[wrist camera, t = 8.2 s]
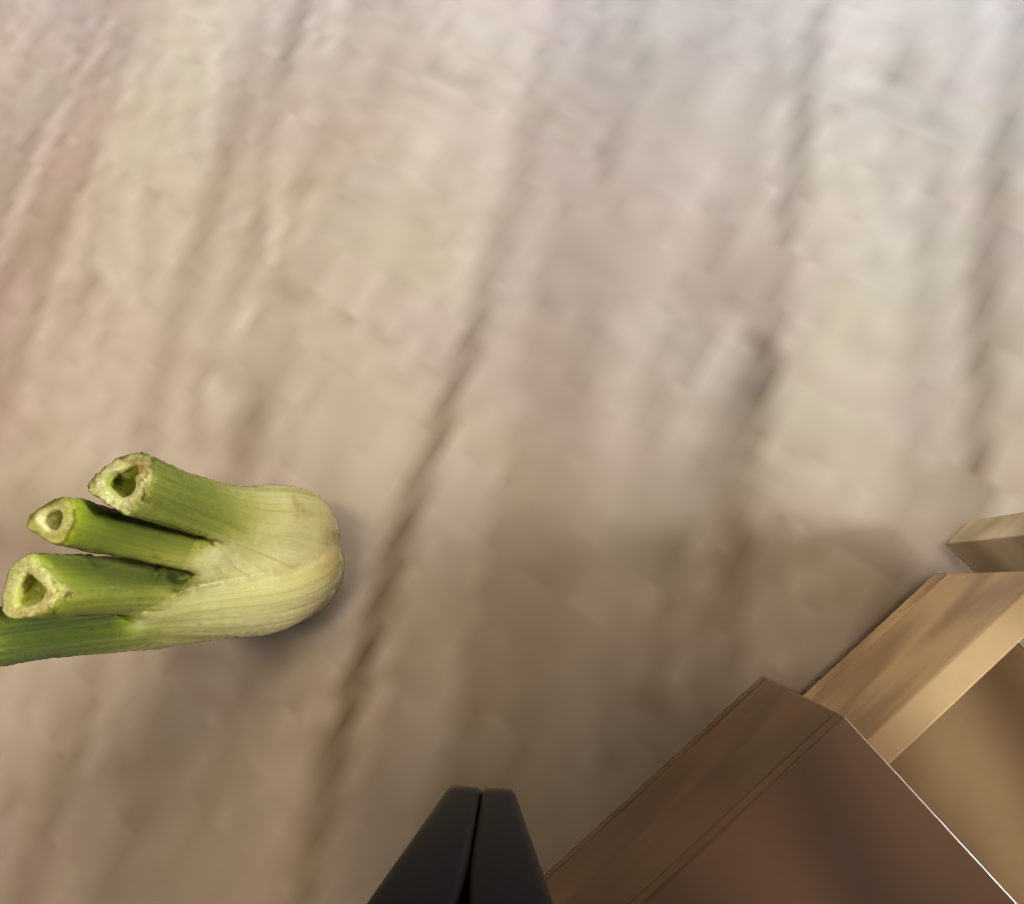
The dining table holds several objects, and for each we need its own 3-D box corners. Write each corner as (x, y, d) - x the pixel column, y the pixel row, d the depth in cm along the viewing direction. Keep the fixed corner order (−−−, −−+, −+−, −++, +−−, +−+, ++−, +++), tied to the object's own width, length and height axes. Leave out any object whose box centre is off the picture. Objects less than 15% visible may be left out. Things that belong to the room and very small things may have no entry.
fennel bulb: (229, 654, 24) (-89, 719, 13) (198, 527, 25) (-122, 480, 14) (377, 601, 24) (194, 618, 13) (340, 476, 25) (140, 384, 14)
